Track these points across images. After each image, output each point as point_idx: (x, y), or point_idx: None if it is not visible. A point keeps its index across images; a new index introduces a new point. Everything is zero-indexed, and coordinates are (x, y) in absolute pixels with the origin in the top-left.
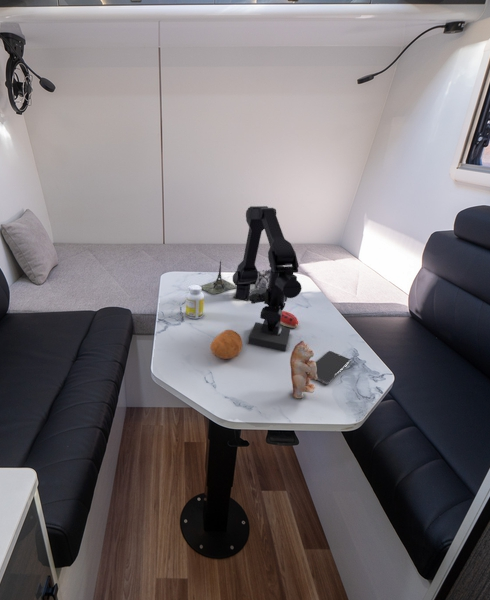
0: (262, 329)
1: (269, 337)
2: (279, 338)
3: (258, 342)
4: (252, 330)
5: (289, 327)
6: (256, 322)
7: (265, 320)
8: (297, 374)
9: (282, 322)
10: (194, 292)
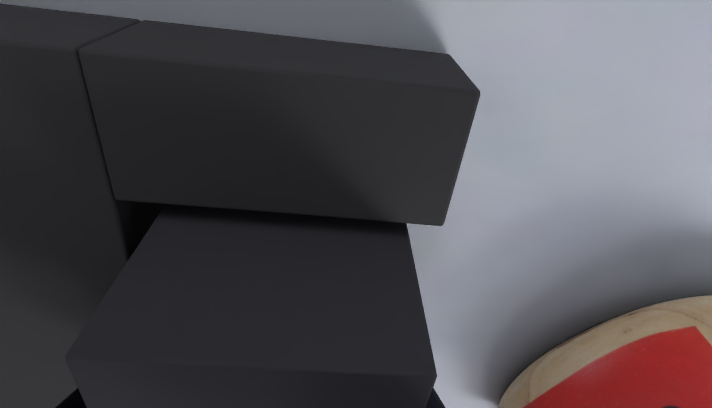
0: (135, 257)
1: (50, 318)
2: None
3: None
4: (89, 62)
5: (506, 391)
6: (465, 113)
7: (257, 386)
8: None
9: (566, 374)
10: None
